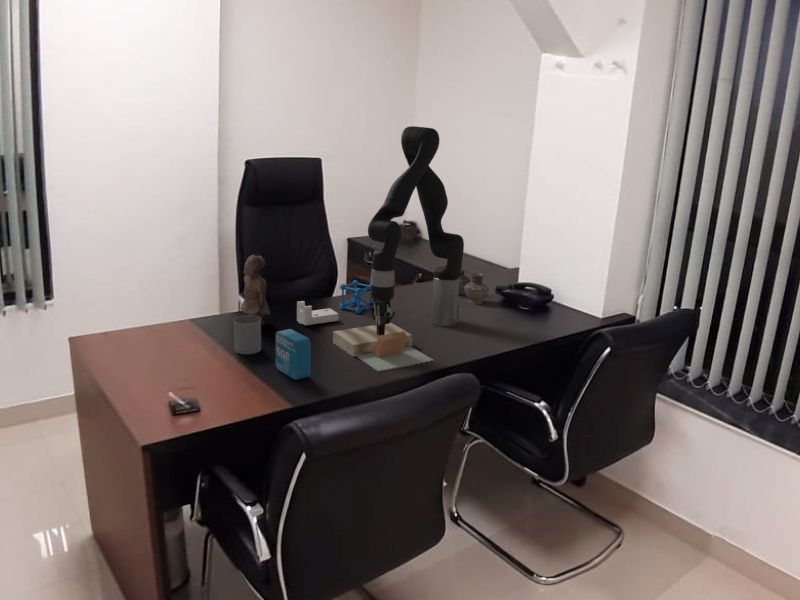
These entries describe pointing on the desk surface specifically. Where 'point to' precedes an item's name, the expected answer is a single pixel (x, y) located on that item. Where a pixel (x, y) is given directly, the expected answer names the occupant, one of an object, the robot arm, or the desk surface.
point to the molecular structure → (355, 296)
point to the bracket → (314, 315)
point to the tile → (390, 344)
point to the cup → (247, 334)
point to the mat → (395, 359)
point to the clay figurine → (254, 289)
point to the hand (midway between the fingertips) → (380, 334)
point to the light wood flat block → (364, 339)
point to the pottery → (472, 287)
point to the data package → (293, 354)
